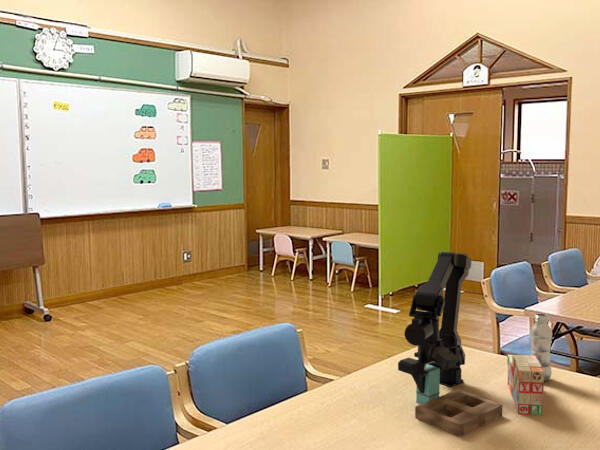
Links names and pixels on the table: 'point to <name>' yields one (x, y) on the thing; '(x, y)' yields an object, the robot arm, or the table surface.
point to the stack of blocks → (526, 384)
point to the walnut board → (458, 412)
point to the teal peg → (430, 385)
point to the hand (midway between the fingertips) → (427, 390)
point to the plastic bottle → (541, 343)
